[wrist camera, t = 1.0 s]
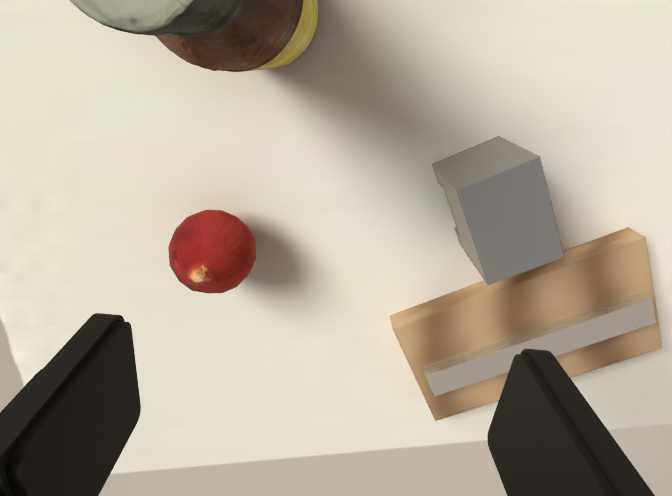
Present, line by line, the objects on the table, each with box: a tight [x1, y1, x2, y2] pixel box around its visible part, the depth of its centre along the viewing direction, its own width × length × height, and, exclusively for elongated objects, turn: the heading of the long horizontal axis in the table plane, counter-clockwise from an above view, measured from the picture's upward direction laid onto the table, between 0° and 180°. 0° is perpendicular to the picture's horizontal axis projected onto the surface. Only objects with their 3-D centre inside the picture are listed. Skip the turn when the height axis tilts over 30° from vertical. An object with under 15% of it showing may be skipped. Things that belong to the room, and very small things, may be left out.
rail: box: [423, 293, 656, 396], centre depth 35 cm, size 18×2×2 cm, turn 114°
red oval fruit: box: [169, 210, 256, 293], centre depth 30 cm, size 6×6×8 cm
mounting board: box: [390, 228, 662, 421], centre depth 36 cm, size 20×11×2 cm, turn 114°
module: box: [432, 136, 564, 285], centre depth 29 cm, size 5×8×7 cm, turn 24°
